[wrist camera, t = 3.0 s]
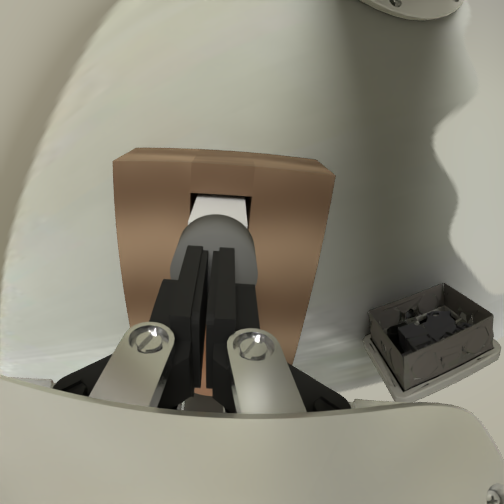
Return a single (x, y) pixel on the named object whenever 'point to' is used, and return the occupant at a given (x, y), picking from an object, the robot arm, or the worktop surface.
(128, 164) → the wooden socket board
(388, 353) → the electrical switch
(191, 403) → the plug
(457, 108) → the worktop surface
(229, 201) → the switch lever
